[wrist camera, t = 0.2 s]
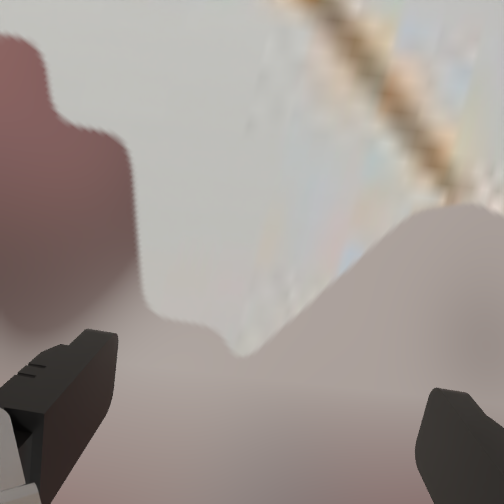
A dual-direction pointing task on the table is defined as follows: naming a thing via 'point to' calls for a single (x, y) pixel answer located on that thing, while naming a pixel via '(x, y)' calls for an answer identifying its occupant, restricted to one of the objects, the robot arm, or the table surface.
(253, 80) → the table surface
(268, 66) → the table surface
